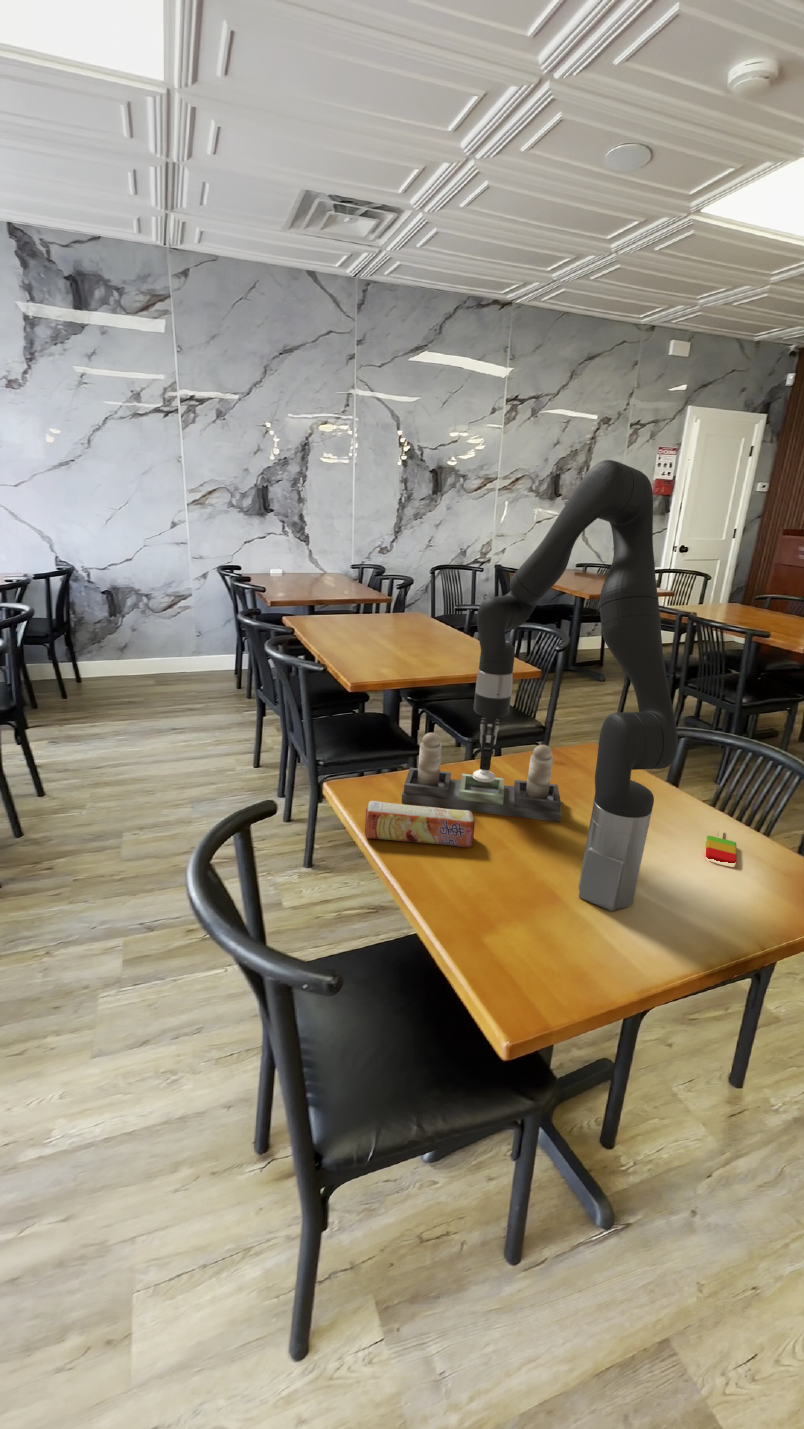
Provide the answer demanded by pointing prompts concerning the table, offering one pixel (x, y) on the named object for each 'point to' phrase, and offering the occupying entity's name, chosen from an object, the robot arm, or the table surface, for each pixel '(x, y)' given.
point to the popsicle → (721, 849)
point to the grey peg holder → (483, 787)
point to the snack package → (419, 824)
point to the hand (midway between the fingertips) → (484, 766)
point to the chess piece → (484, 775)
